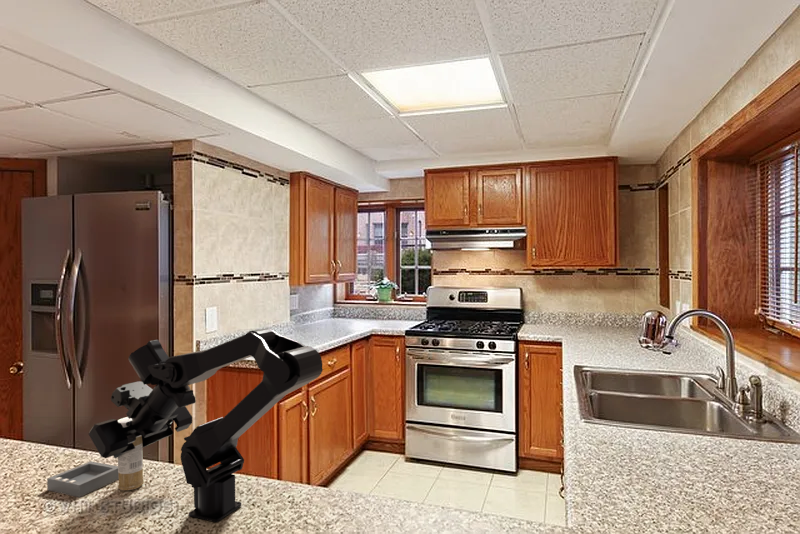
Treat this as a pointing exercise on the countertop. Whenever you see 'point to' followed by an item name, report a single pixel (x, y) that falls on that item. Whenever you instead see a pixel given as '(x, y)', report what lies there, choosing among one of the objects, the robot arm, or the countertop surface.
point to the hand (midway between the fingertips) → (125, 452)
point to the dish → (83, 479)
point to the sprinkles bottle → (131, 464)
